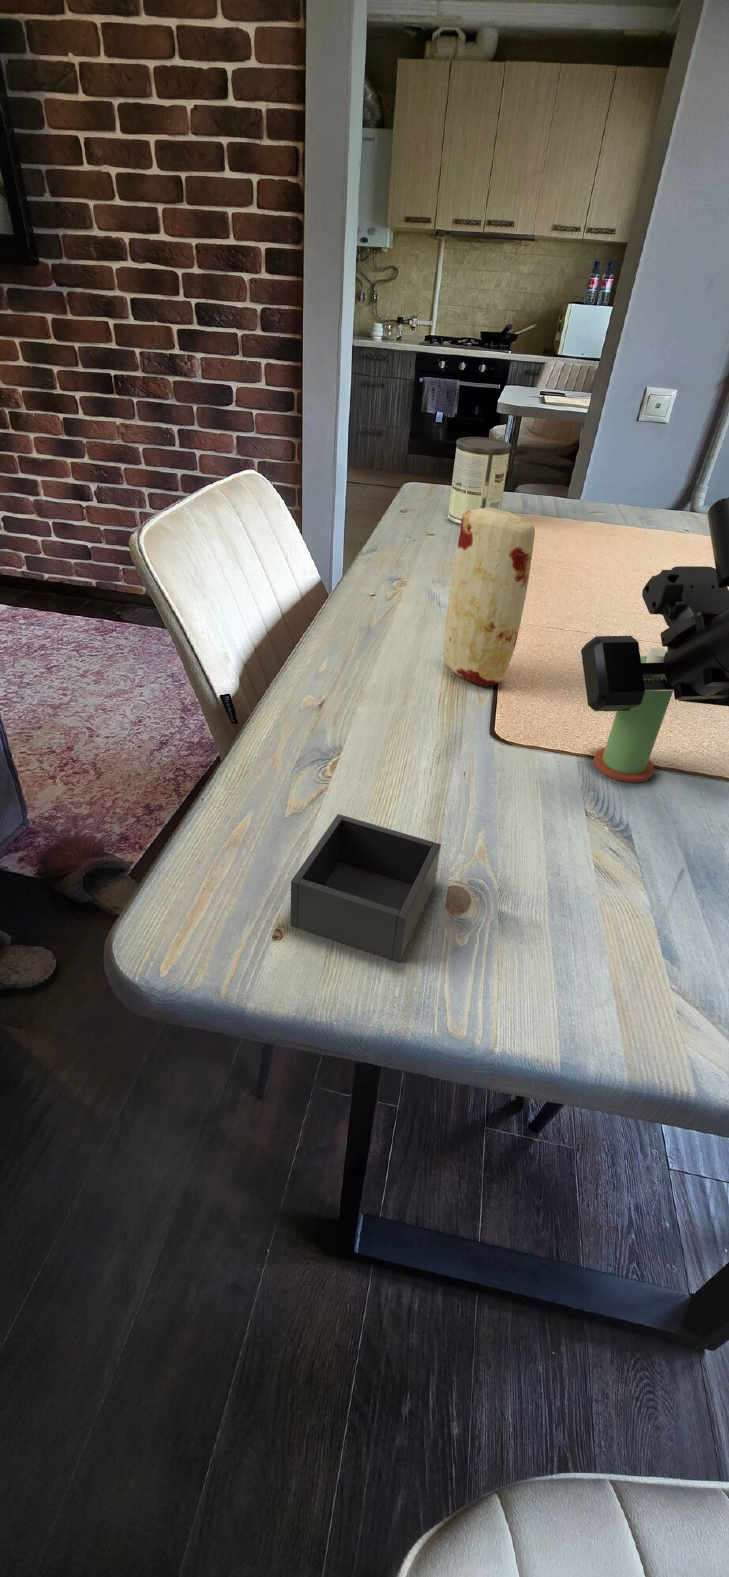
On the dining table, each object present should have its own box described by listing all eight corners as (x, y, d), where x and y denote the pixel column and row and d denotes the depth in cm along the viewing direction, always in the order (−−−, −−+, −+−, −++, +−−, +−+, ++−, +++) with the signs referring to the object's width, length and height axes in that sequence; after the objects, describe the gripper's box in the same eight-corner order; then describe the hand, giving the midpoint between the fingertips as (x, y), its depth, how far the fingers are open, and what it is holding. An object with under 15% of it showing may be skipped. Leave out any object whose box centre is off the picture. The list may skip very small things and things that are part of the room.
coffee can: (455, 508, 151) (465, 434, 143) (504, 517, 149) (517, 441, 140) (440, 521, 144) (449, 442, 135) (491, 530, 141) (504, 451, 133)
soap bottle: (651, 775, 75) (692, 664, 67) (608, 773, 74) (644, 660, 67) (638, 751, 78) (675, 643, 71) (597, 749, 78) (630, 640, 71)
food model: (426, 670, 91) (447, 503, 80) (459, 655, 96) (484, 494, 84) (490, 700, 86) (523, 526, 74) (522, 682, 90) (558, 516, 79)
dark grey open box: (433, 888, 60) (441, 843, 57) (399, 965, 53) (405, 918, 50) (335, 858, 62) (337, 813, 59) (290, 927, 55) (290, 881, 53)
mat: (658, 762, 78) (660, 758, 77) (644, 789, 73) (645, 785, 73) (603, 744, 80) (604, 740, 80) (586, 769, 76) (587, 765, 75)
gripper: (827, 547, 61) (708, 619, 76) (620, 546, 58) (539, 621, 73) (850, 677, 59) (724, 723, 75) (639, 683, 56) (552, 731, 71)
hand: (636, 697), depth 73 cm, fingers open, 9 cm apart
